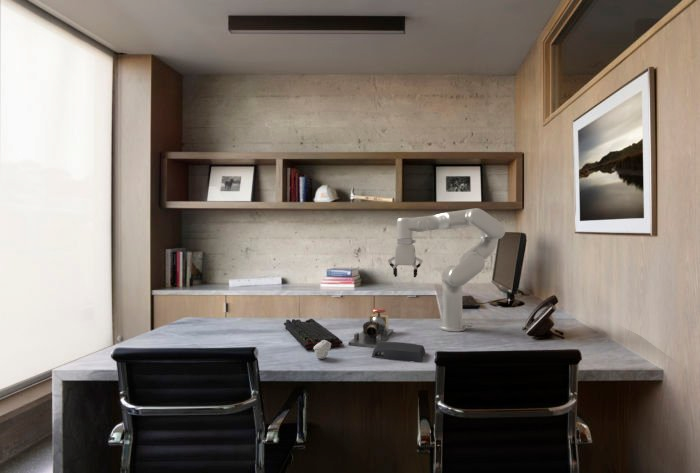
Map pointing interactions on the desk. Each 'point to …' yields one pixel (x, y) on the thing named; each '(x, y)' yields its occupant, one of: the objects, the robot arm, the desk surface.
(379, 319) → the stand
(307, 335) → the keyboard
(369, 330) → the morel mushroom
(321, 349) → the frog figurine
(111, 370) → the desk surface
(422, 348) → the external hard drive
